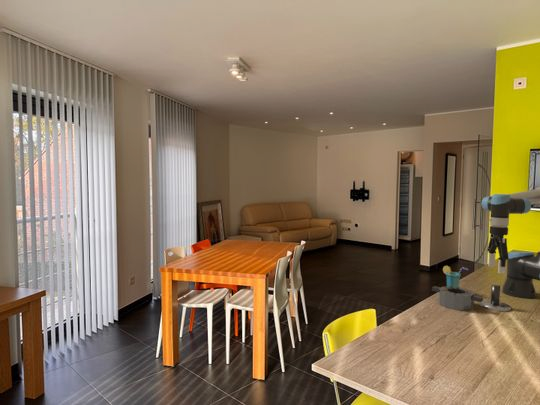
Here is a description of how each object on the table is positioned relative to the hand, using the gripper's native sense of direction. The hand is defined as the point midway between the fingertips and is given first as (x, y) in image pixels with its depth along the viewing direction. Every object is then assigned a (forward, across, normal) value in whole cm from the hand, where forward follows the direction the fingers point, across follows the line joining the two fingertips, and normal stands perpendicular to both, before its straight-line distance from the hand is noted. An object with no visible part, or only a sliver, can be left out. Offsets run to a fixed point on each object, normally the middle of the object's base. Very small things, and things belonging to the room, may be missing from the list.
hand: (496, 269), depth 177 cm
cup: (+18, -18, -14) cm, 29 cm away
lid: (+18, 0, 0) cm, 18 cm away
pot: (+18, +2, -18) cm, 26 cm away
